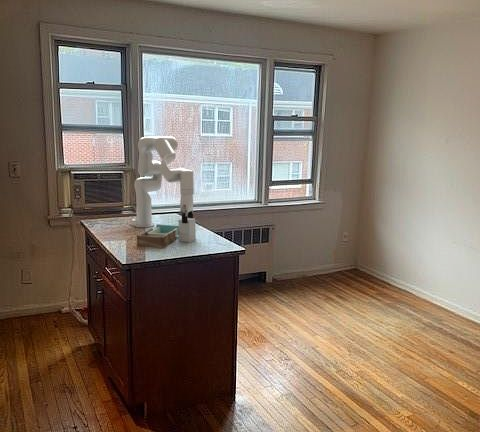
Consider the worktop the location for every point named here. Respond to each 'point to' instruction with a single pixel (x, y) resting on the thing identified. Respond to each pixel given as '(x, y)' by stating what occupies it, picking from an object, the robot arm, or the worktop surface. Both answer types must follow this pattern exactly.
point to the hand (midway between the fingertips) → (187, 221)
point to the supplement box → (187, 230)
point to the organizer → (155, 239)
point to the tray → (163, 230)
